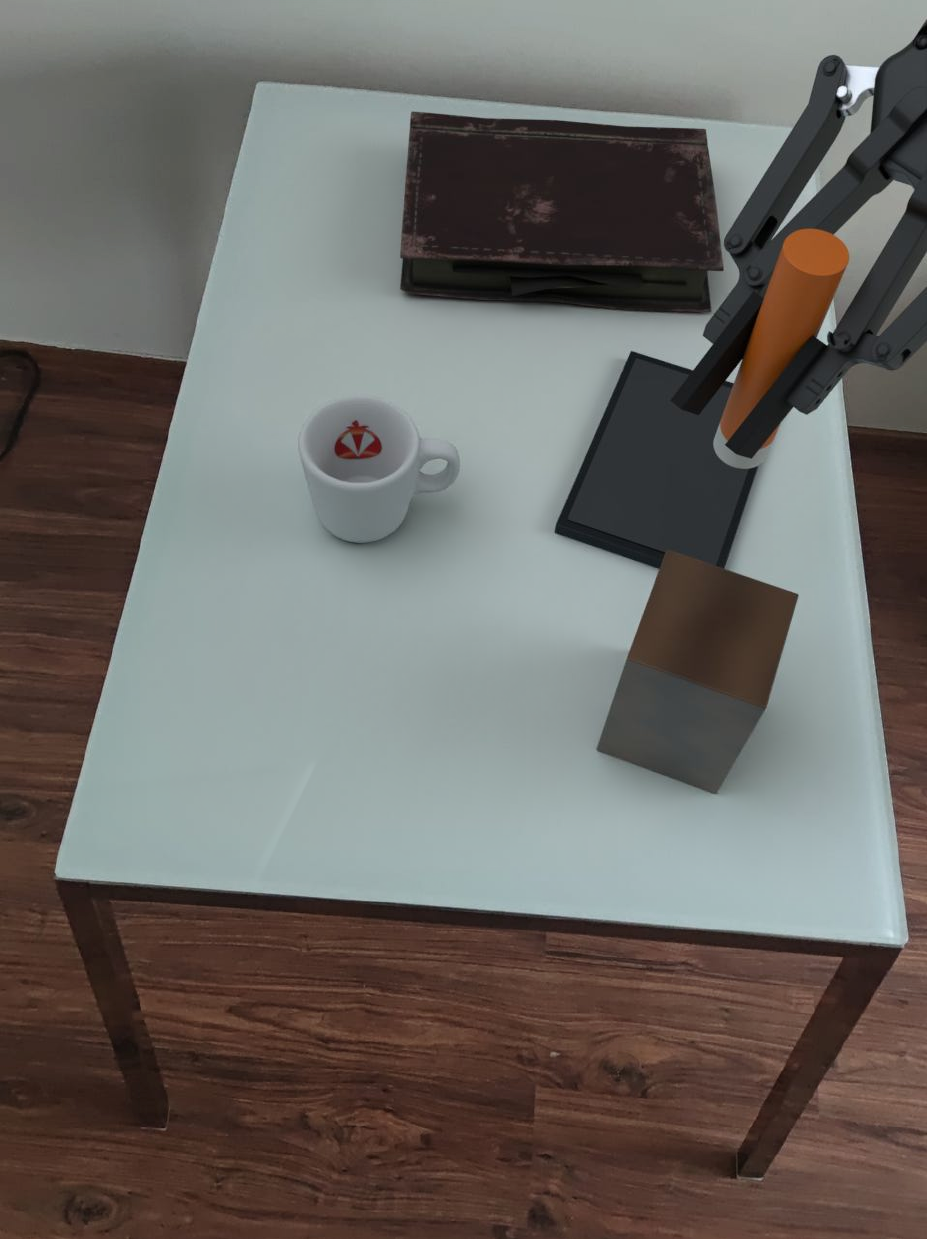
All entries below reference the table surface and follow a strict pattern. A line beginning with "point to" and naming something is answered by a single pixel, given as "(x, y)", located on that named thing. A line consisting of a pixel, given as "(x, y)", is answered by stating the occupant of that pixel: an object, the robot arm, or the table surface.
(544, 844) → the table surface
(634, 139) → the diary
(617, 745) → the tall brown-topped block
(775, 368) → the orange cylinder
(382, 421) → the cup
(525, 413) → the table surface
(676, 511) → the tablet
